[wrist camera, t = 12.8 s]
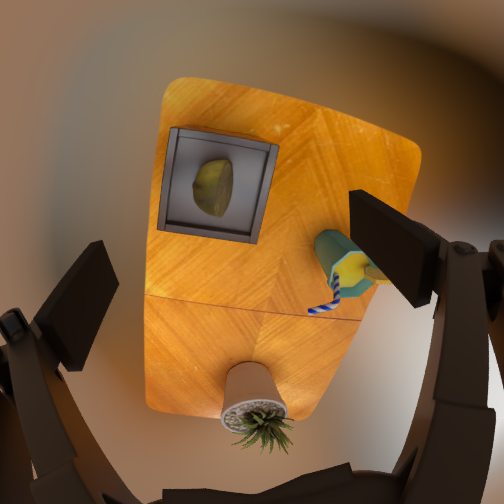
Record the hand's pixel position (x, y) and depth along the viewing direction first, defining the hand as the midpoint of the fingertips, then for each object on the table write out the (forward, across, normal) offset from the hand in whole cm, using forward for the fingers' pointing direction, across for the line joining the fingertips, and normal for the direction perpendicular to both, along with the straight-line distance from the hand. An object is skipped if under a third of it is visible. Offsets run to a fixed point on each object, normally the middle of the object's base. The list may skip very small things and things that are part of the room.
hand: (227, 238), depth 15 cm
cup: (+28, +14, -16) cm, 36 cm away
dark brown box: (+28, -1, -1) cm, 28 cm away
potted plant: (+28, -3, -44) cm, 52 cm away
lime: (+14, -1, 0) cm, 14 cm away
